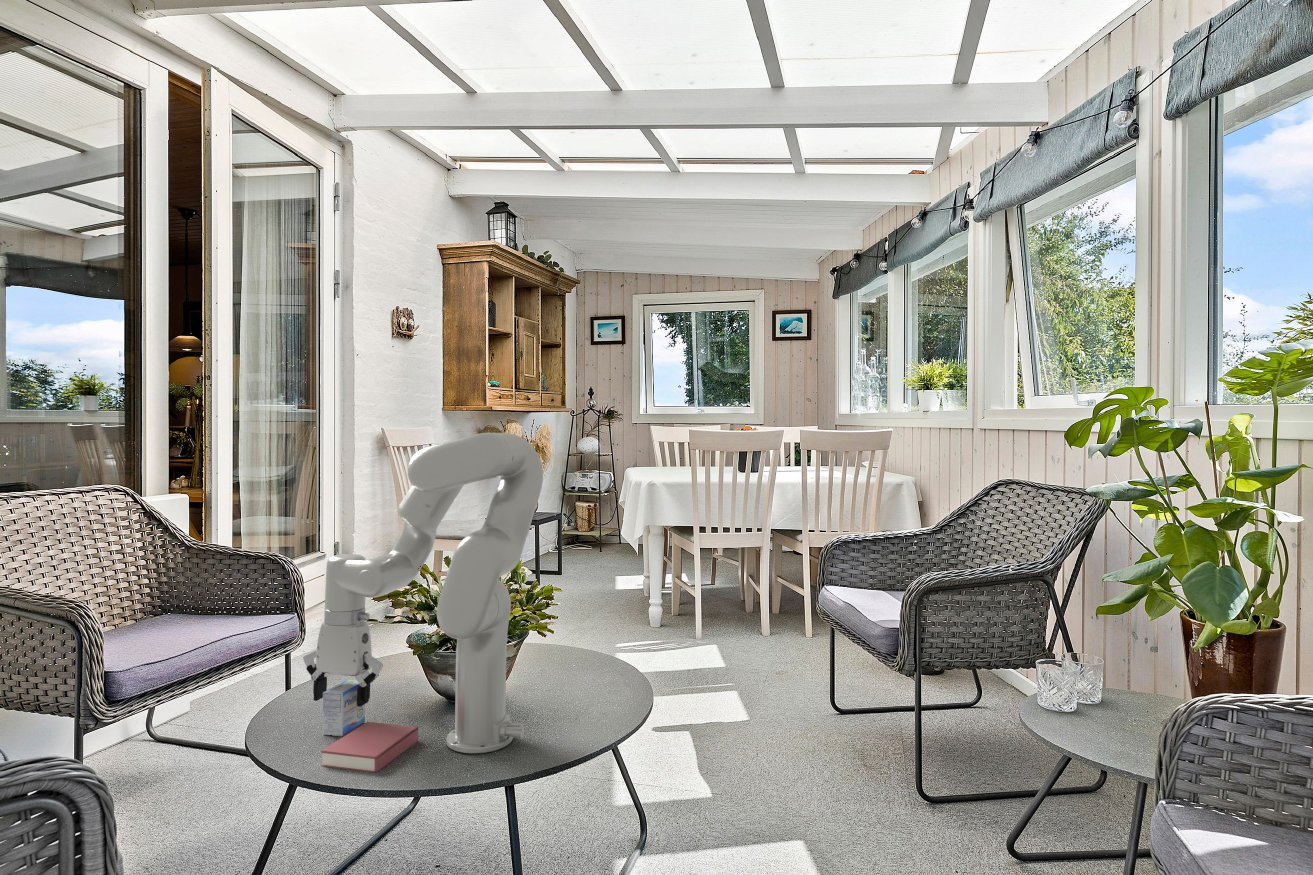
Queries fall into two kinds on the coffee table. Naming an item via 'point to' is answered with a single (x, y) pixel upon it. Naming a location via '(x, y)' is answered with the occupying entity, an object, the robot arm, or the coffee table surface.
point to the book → (370, 747)
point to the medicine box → (342, 709)
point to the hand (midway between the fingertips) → (341, 701)
